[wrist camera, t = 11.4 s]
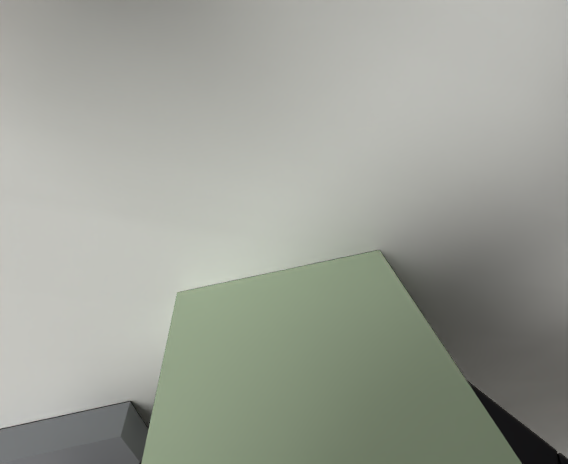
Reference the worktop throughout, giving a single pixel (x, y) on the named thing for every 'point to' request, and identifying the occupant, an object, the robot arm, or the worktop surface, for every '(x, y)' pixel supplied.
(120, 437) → the baseplate
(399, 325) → the sage brick
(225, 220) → the worktop surface
